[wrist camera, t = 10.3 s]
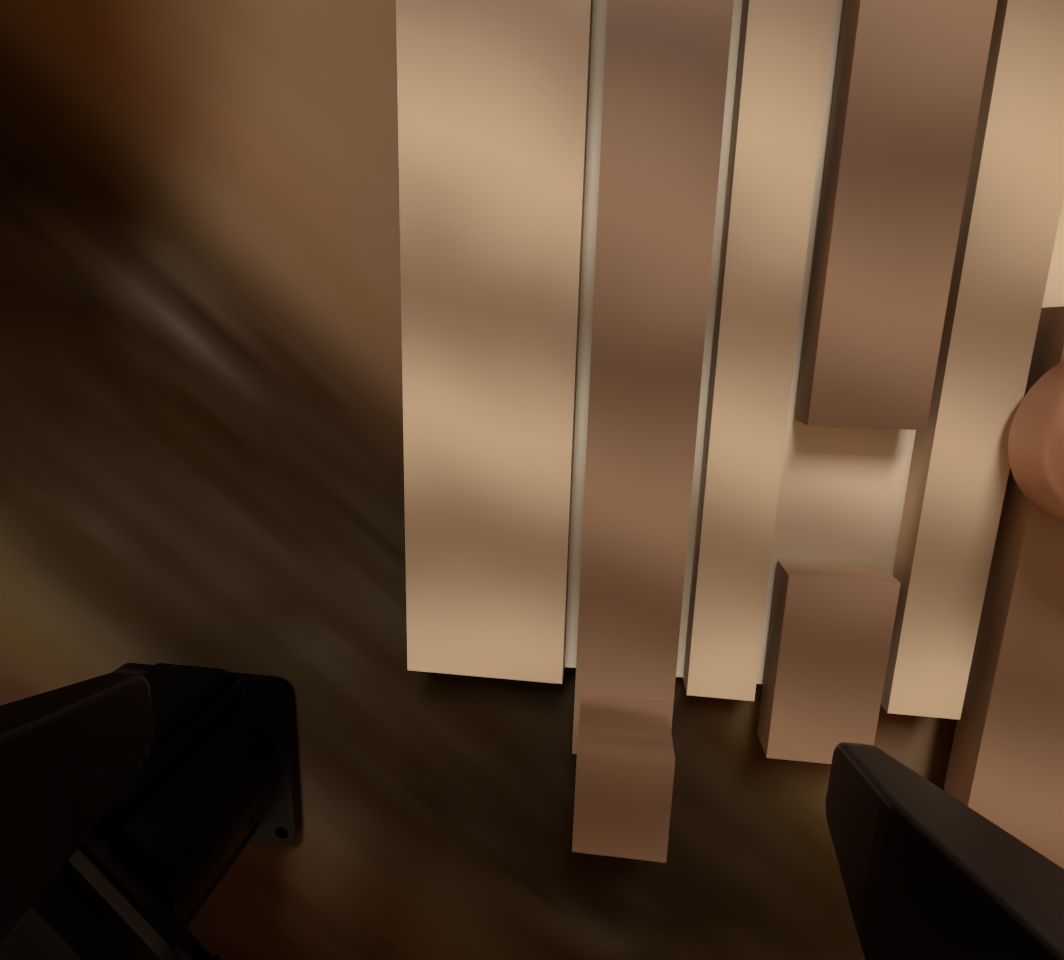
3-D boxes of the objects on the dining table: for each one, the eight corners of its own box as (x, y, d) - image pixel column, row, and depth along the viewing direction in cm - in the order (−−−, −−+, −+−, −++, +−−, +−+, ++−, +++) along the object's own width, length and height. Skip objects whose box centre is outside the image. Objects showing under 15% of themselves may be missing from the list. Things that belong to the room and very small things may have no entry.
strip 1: (662, 766, 20) (674, 864, 16) (573, 757, 20) (564, 850, 17) (731, -51, 15) (769, -176, 11) (611, -47, 15) (611, -167, 12)
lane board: (1214, 752, 19) (1298, 810, 17) (426, 680, 22) (404, 721, 19) (1471, -101, 14) (1638, -186, 12) (419, -57, 17) (388, -120, 15)
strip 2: (993, 1019, 21) (1076, 1169, 17) (900, 1007, 21) (962, 1151, 17) (1162, 310, 16) (1332, 303, 12) (1038, 307, 16) (1166, 299, 12)
